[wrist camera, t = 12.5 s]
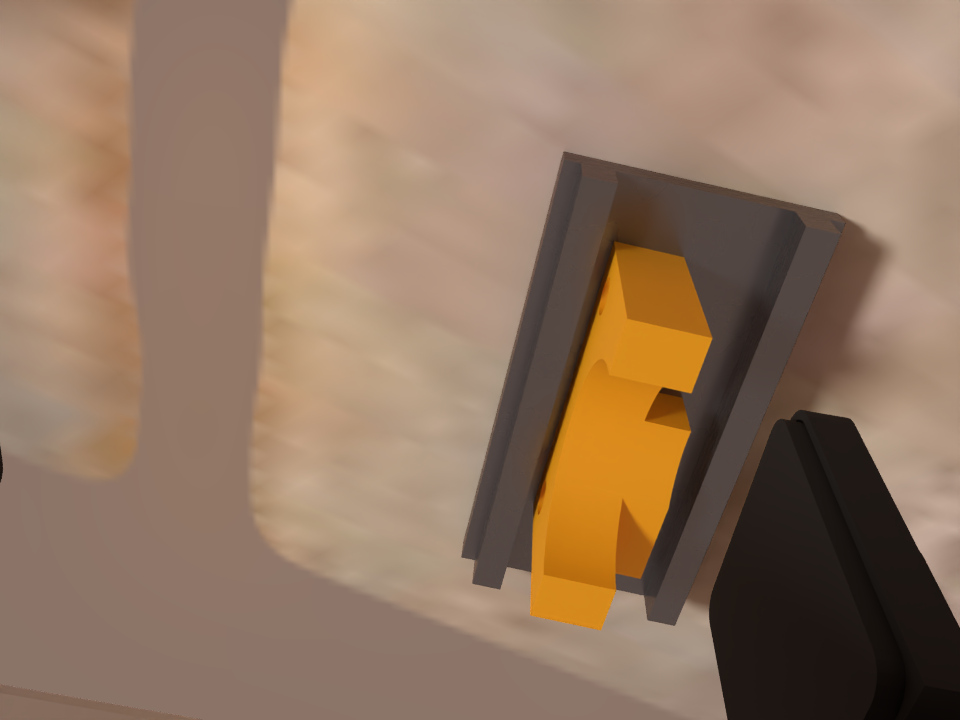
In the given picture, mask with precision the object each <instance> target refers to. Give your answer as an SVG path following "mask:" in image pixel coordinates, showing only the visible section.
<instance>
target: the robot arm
mask: <svg viewBox="0 0 960 720" xmlns="http://www.w3.org/2000/svg"><path fill="white" fill-rule="evenodd" d="M2 473H3V463H2V455H1V448H0V482H1V479H2ZM709 620H710V627H711V632H712V638H713V643H714V649H715V654H716V659H717V665H718V670H719V676H720V681H721V686H722V692H723V697H724V703H725V708H726V713H727V719H728V720H960V627H959V625H958V623H957V622H956V620H955V618H954V616H953V614H952V612H951V610H950V608H949V606H948V604H947V602H946V600H945V598H944V596H943V594H942V592H941V590H940V588H939V586H938V584H937V582H936V580H935V579H934V577H933V575H932V573H931V571H930V569H929V567H928V565H927V563H926V561H925V559H924V557H923V555H922V554H921V553H920V551H919V550H918V548H917V546H916V544H915V542H914V540H913V538H912V536H911V534H910V532H909V530H908V528H907V526H906V524H905V522H904V520H903V518H902V516H901V514H900V512H899V510H898V508H897V506H896V504H895V503H894V501H893V499H892V497H891V495H890V493H889V491H888V489H887V487H886V485H885V483H884V481H883V479H882V477H881V475H880V473H879V471H878V469H877V467H876V465H875V463H874V461H873V459H872V457H871V455H870V454H869V452H868V450H867V448H866V446H865V444H864V442H863V440H862V438H861V436H860V434H859V432H858V430H857V428H856V426H855V424H854V423H853V421H852V420H851V419H849V418H844V417H838V416H833V415H827V414H821V413H816V412H810V411H804V410H799V411H797V412H796V413H795V414H794V415H793V417H792V418H791V420H784V419H780V420H778V421H777V422H776V423H775V425H774V427H773V429H772V431H771V434H770V436H769V439H768V442H767V445H766V447H765V450H764V453H763V455H762V458H761V461H760V463H759V466H758V469H757V472H756V474H755V477H754V480H753V482H752V485H751V488H750V490H749V493H748V496H747V499H746V501H745V504H744V507H743V509H742V512H741V515H740V517H739V520H738V523H737V526H736V528H735V531H734V534H733V536H732V539H731V542H730V544H729V547H728V550H727V553H726V555H725V558H724V561H723V563H722V566H721V569H720V571H719V574H718V577H717V580H716V582H715V585H714V588H713V591H712V594H711V599H710V607H709ZM0 720H202V719H195V718H190V717H184V716H179V715H173V714H168V713H161V712H156V711H150V710H145V709H138V708H133V707H128V706H122V705H115V704H110V703H105V702H99V701H93V700H88V699H81V698H76V697H70V696H64V695H59V694H53V693H47V692H41V691H36V690H30V689H25V688H19V687H13V686H7V685H2V684H0Z"/></svg>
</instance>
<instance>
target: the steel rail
mask: <svg viewBox="0 0 960 720" xmlns="http://www.w3.org/2000/svg"><path fill="white" fill-rule="evenodd" d="M844 226H845V222H844V221H843V219H842V218H841V217H840V216H839V215H838V214H837V213H832V212H828V211H824V210H819V209H815V208H810V207H806V206H802V205H797V204H793V203H788V202H784V201H779V200H775V199H771V198H766V197H762V196H757V195H753V194H749V193H744V192H740V191H735V190H731V189H727V188H722V187H718V186H713V185H709V184H705V183H700V182H696V181H691V180H687V179H682V178H678V177H674V176H669V175H665V174H660V173H656V172H652V171H647V170H643V169H638V168H634V167H630V166H625V165H621V164H616V163H612V162H608V161H603V160H599V159H594V158H590V157H585V156H581V155H577V154H572V153H568V152H563V156H562V160H561V164H560V168H559V171H558V175H557V179H556V183H555V187H554V191H553V195H552V199H551V203H550V207H549V210H548V214H547V218H546V222H545V226H544V230H543V234H542V238H541V242H540V246H539V249H538V253H537V257H536V261H535V265H534V269H533V273H532V277H531V281H530V285H529V288H528V292H527V296H526V300H525V304H524V308H523V312H522V316H521V320H520V324H519V327H518V331H517V335H516V339H515V343H514V347H513V351H512V355H511V359H510V363H509V366H508V370H507V374H506V378H505V382H504V386H503V390H502V394H501V398H500V402H499V405H498V409H497V413H496V417H495V421H494V425H493V429H492V433H491V437H490V441H489V444H488V448H487V452H486V456H485V460H484V464H483V468H482V472H481V476H480V480H479V483H478V487H477V491H476V495H475V499H474V503H473V507H472V511H471V515H470V519H469V522H468V526H467V530H466V534H465V538H464V542H463V549H462V557H463V558H468V559H472V560H475V564H474V573H473V582H472V584H476V585H481V586H486V587H491V588H496V589H500V588H501V585H502V581H503V578H504V574H505V571H506V567H511V568H515V569H520V570H525V571H530V572H532V537H533V505H534V501H535V498H536V495H537V491H538V488H539V485H540V482H541V478H542V475H543V472H544V469H545V465H546V462H547V459H548V455H549V452H550V449H551V446H552V442H553V439H554V436H555V433H556V429H557V426H558V423H559V419H560V416H561V413H562V410H563V406H564V403H565V400H566V396H567V393H568V390H569V387H570V383H571V380H572V377H573V374H574V370H575V367H576V364H577V360H578V357H579V354H580V351H581V347H582V344H583V341H584V338H585V334H586V331H587V328H588V324H589V321H590V318H591V315H592V311H593V308H594V305H595V301H596V298H597V295H598V292H599V288H600V285H601V282H602V279H603V275H604V272H605V269H606V265H607V262H608V259H609V256H610V252H611V249H612V246H613V243H614V241H616V242H620V243H624V244H629V245H633V246H637V247H642V248H646V249H650V250H655V251H659V252H663V253H668V254H672V255H676V256H681V257H684V258H685V261H686V264H687V267H688V270H689V272H690V275H691V278H692V281H693V284H694V287H695V289H696V292H697V295H698V298H699V301H700V304H701V307H702V309H703V312H704V315H705V318H706V321H707V324H708V327H709V329H710V332H711V335H712V341H711V344H710V346H709V349H708V351H707V354H706V357H705V359H704V362H703V364H702V367H701V370H700V372H699V375H698V378H697V380H696V383H695V385H694V388H693V391H692V393H687V392H682V391H678V390H674V389H669V388H665V387H662V388H661V390H660V391H659V393H663V394H667V395H672V396H676V397H681V398H683V401H684V405H685V409H686V413H687V417H688V421H689V425H690V429H691V433H690V435H689V438H688V440H687V443H686V445H685V448H684V451H683V454H682V457H681V460H680V463H679V466H678V470H677V474H676V477H675V481H674V485H673V489H672V494H671V499H670V504H669V509H668V511H667V514H666V516H665V519H664V521H663V524H662V526H661V529H660V531H659V534H658V536H657V539H656V541H655V544H654V546H653V549H652V551H651V554H650V556H649V559H648V562H647V564H646V567H645V569H644V572H643V574H642V577H641V579H639V578H634V577H630V576H625V575H620V574H616V573H615V579H616V590H621V591H626V592H630V593H635V594H640V595H644V598H645V606H646V613H647V620H649V621H654V622H659V623H664V624H669V625H673V626H675V624H676V622H677V619H678V617H679V615H680V612H681V610H682V608H683V605H684V603H685V601H686V598H687V596H688V593H689V591H690V589H691V586H692V584H693V582H694V579H695V577H696V575H697V572H698V570H699V568H700V565H701V563H702V561H703V558H704V556H705V554H706V551H707V549H708V546H709V544H710V542H711V539H712V537H713V535H714V532H715V530H716V528H717V525H718V523H719V521H720V518H721V516H722V514H723V511H724V509H725V506H726V504H727V502H728V499H729V497H730V495H731V492H732V490H733V488H734V485H735V483H736V481H737V478H738V476H739V474H740V471H741V469H742V466H743V464H744V462H745V459H746V457H747V455H748V452H749V450H750V448H751V445H752V443H753V441H754V438H755V436H756V434H757V431H758V429H759V426H760V424H761V422H762V419H763V417H764V415H765V412H766V410H767V408H768V405H769V403H770V401H771V398H772V396H773V394H774V391H775V389H776V386H777V384H778V382H779V379H780V377H781V375H782V372H783V370H784V368H785V365H786V363H787V361H788V358H789V356H790V354H791V351H792V349H793V346H794V344H795V342H796V339H797V337H798V335H799V332H800V330H801V328H802V325H803V323H804V321H805V318H806V316H807V314H808V311H809V309H810V307H811V304H812V302H813V299H814V297H815V295H816V292H817V290H818V288H819V285H820V283H821V281H822V278H823V276H824V274H825V271H826V269H827V267H828V264H829V262H830V259H831V257H832V255H833V252H834V250H835V248H836V245H837V243H838V241H839V238H840V236H841V233H842V230H843V228H844Z"/></svg>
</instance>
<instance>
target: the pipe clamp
mask: <svg viewBox="0 0 960 720" xmlns="http://www.w3.org/2000/svg"><path fill="white" fill-rule="evenodd" d="M711 341H712V335H711V332H710V329H709V327H708V324H707V321H706V318H705V315H704V312H703V309H702V307H701V304H700V301H699V298H698V295H697V292H696V289H695V287H694V284H693V281H692V278H691V275H690V272H689V270H688V267H687V264H686V261H685V258H684V257H681V256H676V255H672V254H668V253H663V252H659V251H655V250H650V249H646V248H642V247H637V246H633V245H629V244H624V243H620V242H616V241H614V243H613V246H612V249H611V252H610V256H609V259H608V262H607V265H606V269H605V272H604V275H603V279H602V282H601V285H600V288H599V292H598V295H597V298H596V301H595V305H594V308H593V311H592V315H591V318H590V321H589V324H588V328H587V331H586V334H585V338H584V341H583V344H582V347H581V351H580V354H579V357H578V360H577V364H576V367H575V370H574V374H573V377H572V380H571V383H570V387H569V390H568V393H567V396H566V400H565V403H564V406H563V410H562V413H561V416H560V419H559V423H558V426H557V429H556V433H555V436H554V439H553V442H552V446H551V449H550V452H549V455H548V459H547V462H546V465H545V469H544V472H543V475H542V478H541V482H540V485H539V488H538V491H537V495H536V498H535V501H534V505H533V537H532V572H531V607H530V615H531V616H536V617H540V618H545V619H550V620H555V621H559V622H564V623H569V624H573V625H578V626H583V627H587V628H592V629H597V630H601V629H602V626H603V623H604V621H605V618H606V616H607V613H608V610H609V608H610V605H611V602H612V600H613V597H614V595H615V592H616V579H615V573H616V574H620V575H625V576H630V577H634V578H639V579H641V577H642V574H643V572H644V569H645V567H646V564H647V562H648V559H649V556H650V554H651V551H652V549H653V546H654V544H655V541H656V539H657V536H658V534H659V531H660V529H661V526H662V524H663V521H664V519H665V516H666V514H667V511H668V509H669V504H670V499H671V494H672V489H673V485H674V481H675V477H676V474H677V470H678V466H679V463H680V460H681V457H682V454H683V451H684V448H685V445H686V443H687V440H688V438H689V435H690V433H691V429H690V425H689V421H688V417H687V413H686V409H685V405H684V401H683V398H681V397H676V396H672V395H667V394H663V393H659V391H660V390H661V388H662V387H665V388H669V389H674V390H678V391H682V392H687V393H692V391H693V388H694V385H695V383H696V380H697V378H698V375H699V372H700V370H701V367H702V364H703V362H704V359H705V357H706V354H707V351H708V349H709V346H710V344H711Z"/></svg>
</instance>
